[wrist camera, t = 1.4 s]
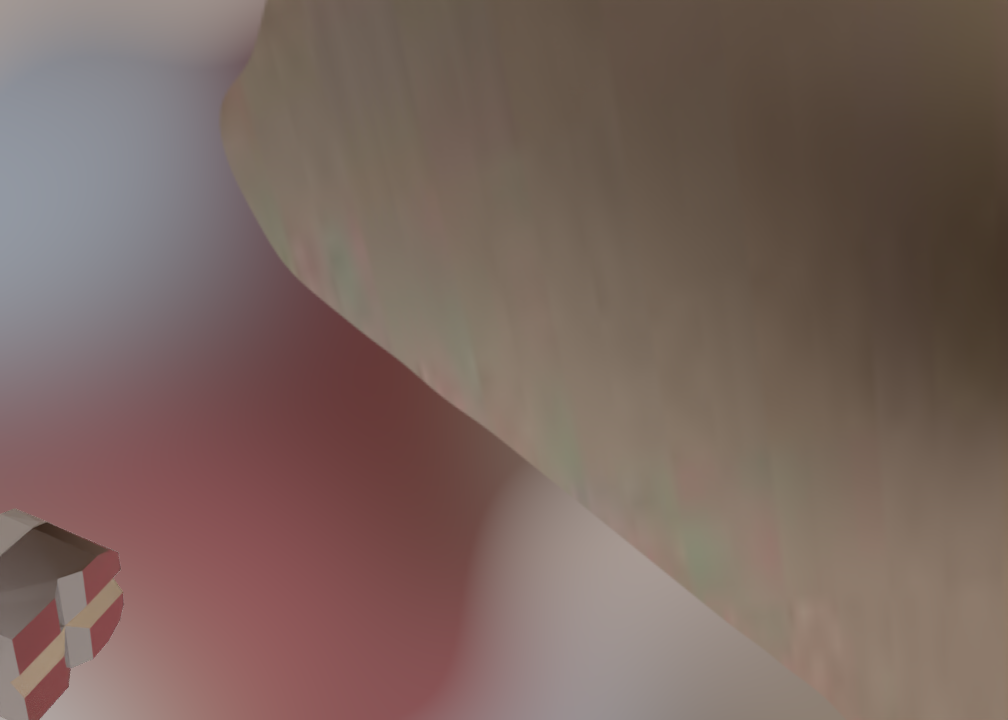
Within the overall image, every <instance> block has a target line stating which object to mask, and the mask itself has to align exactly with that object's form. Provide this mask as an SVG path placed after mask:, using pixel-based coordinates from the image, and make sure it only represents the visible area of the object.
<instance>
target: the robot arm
mask: <svg viewBox="0 0 1008 720" xmlns="http://www.w3.org/2000/svg"><path fill="white" fill-rule="evenodd" d="M120 570H121V566H120V559H119V553H118V552H116V551H114V550H112V549H109V548H107V547H105V546H102V545H100V544H97V543H95V542H93V541H90V540H88V539H86V538H83V537H81V536H78V535H76V534H74V533H71V532H69V531H67V530H64V529H62V528H59V527H57V526H55V525H53V524H51V523H49V522H47V521H44V520H42V519H40V518H37V517H35V516H32V515H30V514H27V513H25V512H22V511H20V510H17V509H12V510H10V511H7V512H5V513H2V514H0V717H2V718H5V719H7V720H39V719H40V718H41V717H42V716H43V715H44V714H45V713H46V712H47V710H48V709H49V708H50V707H51V706H52V705H53V704H54V703H55V702H56V700H57V699H58V698H59V697H60V696H61V695H62V694H63V693H64V692H65V690H66V689H67V688H68V687H69V679H70V671H71V668H73V667H75V666H78V665H80V664H83V663H85V662H87V661H89V660H92V659H94V658H95V657H96V655H97V654H98V653H99V652H100V651H101V650H102V648H103V647H104V646H105V645H106V644H107V642H108V641H109V640H110V638H111V636H112V634H113V632H114V630H115V628H116V627H117V625H118V623H119V621H120V619H121V614H122V610H123V606H124V599H123V591H122V590H121V588H120V587H119V586H118V584H117V583H116V581H115V580H114V576H115V575H116V574H117V573H118V572H119V571H120Z"/></svg>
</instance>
